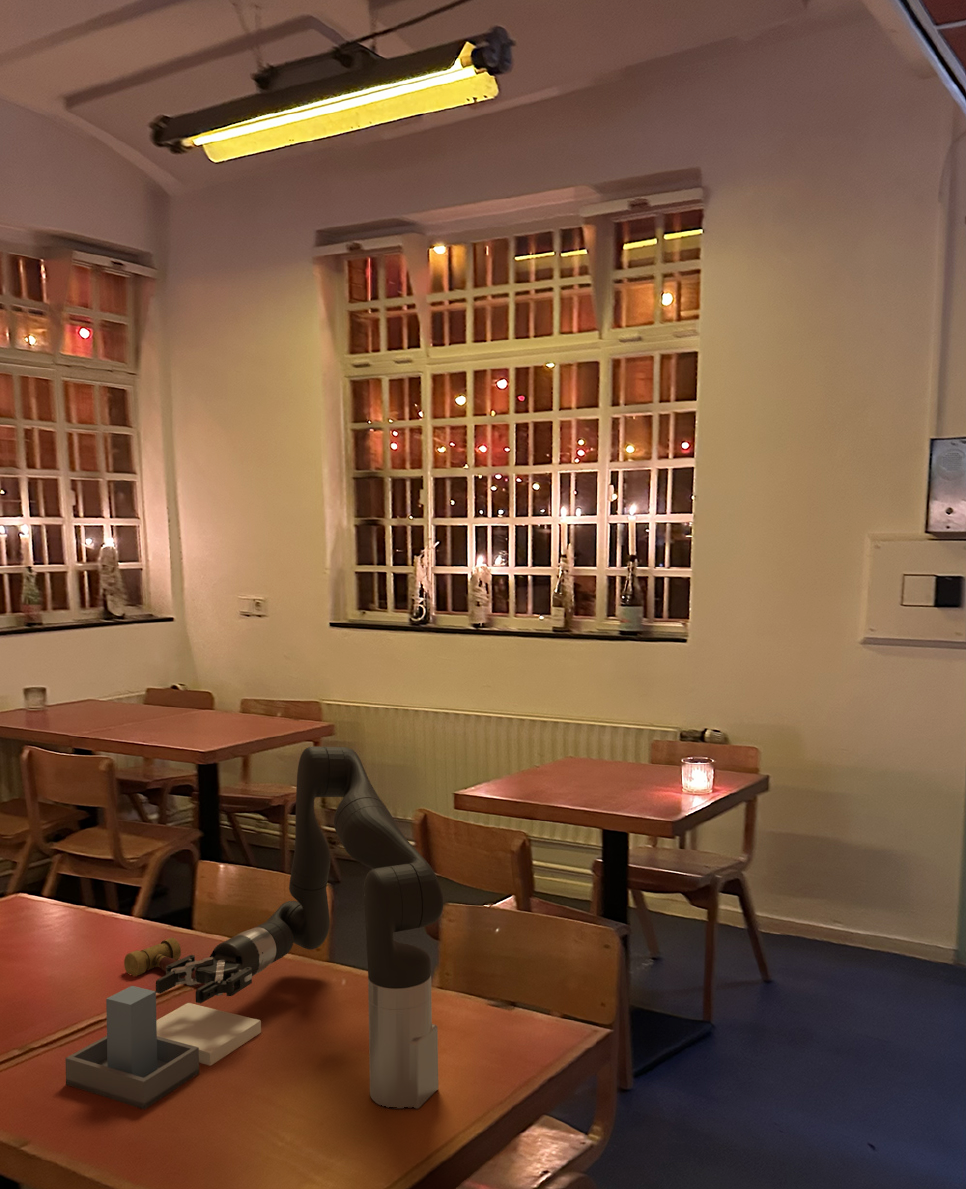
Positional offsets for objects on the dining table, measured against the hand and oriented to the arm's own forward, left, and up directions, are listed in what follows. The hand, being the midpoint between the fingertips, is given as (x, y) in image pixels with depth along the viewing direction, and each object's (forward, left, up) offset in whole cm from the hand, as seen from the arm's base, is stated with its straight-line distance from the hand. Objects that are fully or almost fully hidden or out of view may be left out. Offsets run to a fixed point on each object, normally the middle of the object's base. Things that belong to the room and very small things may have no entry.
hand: (177, 992), depth 153 cm
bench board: (0, -5, -9) cm, 11 cm away
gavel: (+21, -22, -10) cm, 32 cm away
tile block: (0, +9, -9) cm, 13 cm away
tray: (0, +9, -9) cm, 13 cm away
